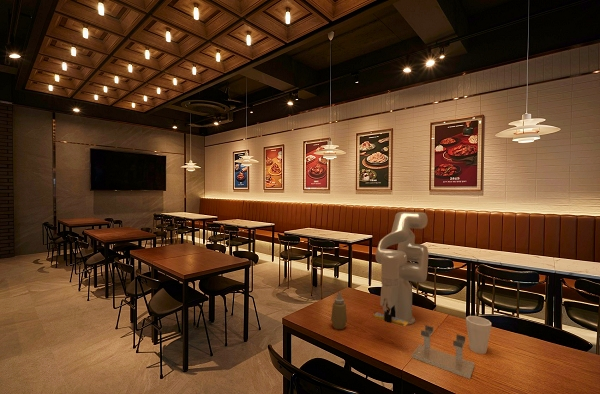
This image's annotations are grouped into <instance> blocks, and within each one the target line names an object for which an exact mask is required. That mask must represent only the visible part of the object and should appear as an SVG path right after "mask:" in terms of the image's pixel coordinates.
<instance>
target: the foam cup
mask: <svg viewBox="0 0 600 394" xmlns="http://www.w3.org/2000/svg"><path fill="white" fill-rule="evenodd" d="M465 324H466V330H467V331H466V332H467V337H468V338H467V339H468V347H469V350H470V351H472V352H474V353H475V354H480V355H485V354H487V351H488V346H489V340H490V336H491V335H490V334H491V331H492V322H491V321H490V320H489V319H486V318H485V317H481V316H477V315H476V316H475V315H468V316H466V317H465Z"/></svg>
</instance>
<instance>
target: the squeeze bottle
mask: <svg viewBox="0 0 600 394" xmlns="http://www.w3.org/2000/svg"><path fill="white" fill-rule="evenodd" d="M330 320H331V322H332V323H331V324H332V326H333V328H334V329H336V330H344V329H345V328H346V324H347V323H348V316H347V307H346V303H345V299H344V298H343V297H342V293H341V291H338V292H337V297H335V298H334V302H333V303H332V310H331V319H330Z"/></svg>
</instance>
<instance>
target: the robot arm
mask: <svg viewBox="0 0 600 394" xmlns="http://www.w3.org/2000/svg"><path fill="white" fill-rule="evenodd" d="M394 215H395V216H394V221H393V224H392V228H391V232H390V233H388V234H386V235H385V236H384V237H382V238H381V239H380V241H379V242H378V245H377V248H376V250H375V261H376V262H377V263H378V264H380V267H381V268H380V269H381V271H380V272H381V275H380V276H381V283H380V284H381V289H380V307H382V311H383V314H384V320H383V321H384V322H386V323H390V324H392V323H391V322H392V317H395V318H398V319H401V320H404V321H406V322H409V323H408V324H407V325H413V324H414V323H416V318H415V317H414V316H413V287H412V284H411V283H410V282H414V283H415V282H416V283H424V282H426V281H427V277H428V267H429V266H428V265H429V249H428V247H427V246H426V245H424V244H420V243H419V244H418V243H415V241H416V236H415V233H414V232H413V231H412V230H411V229H421V230H422V229H424V228H426V227H427V225H428V220H429V219H428V215H427V213H426V212H419V211H417V212H416V211H399V212H397V213H396V214H394ZM393 245H397V249H396V250H395V249H390V248H389V247H391V246H393ZM388 248H389V249H388ZM415 262H417V263H415Z"/></svg>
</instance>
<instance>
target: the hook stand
mask: <svg viewBox="0 0 600 394" xmlns="http://www.w3.org/2000/svg"><path fill="white" fill-rule="evenodd" d="M433 333H434V326H430V325H424V330H421V331H420V337H422V338H423V345H422V344H421V343H420V344H418V346H417V347H416V348H415V350H414V351H413V352H412V354H411V357H412V359H416V360H418V361H420V362H422V363H425V364H428V365H431V366H434V367H437V368H439V369H442V370H444V371H447V372H450V373H453V374H455V375H458V376H461V377H462V378H463V377H464V378H466V379H468V380H471V379H472V378H471V377H472V374H473V372H474V368H475V362H474V361H471V360H468V359H465V358H463V357H464V356H463V354H464V353H463V352H464V351H463V350H464V349H463V348H464V346H465V344H466V336H465V335H462V334H458V333H456V339H455V340H453V341H452V342H453V344H452V345H453V348H455V355H453V354H450V353H447V352H444V351H441V350H438V349H435V348H432V347H431V336H432V334H433Z"/></svg>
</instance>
